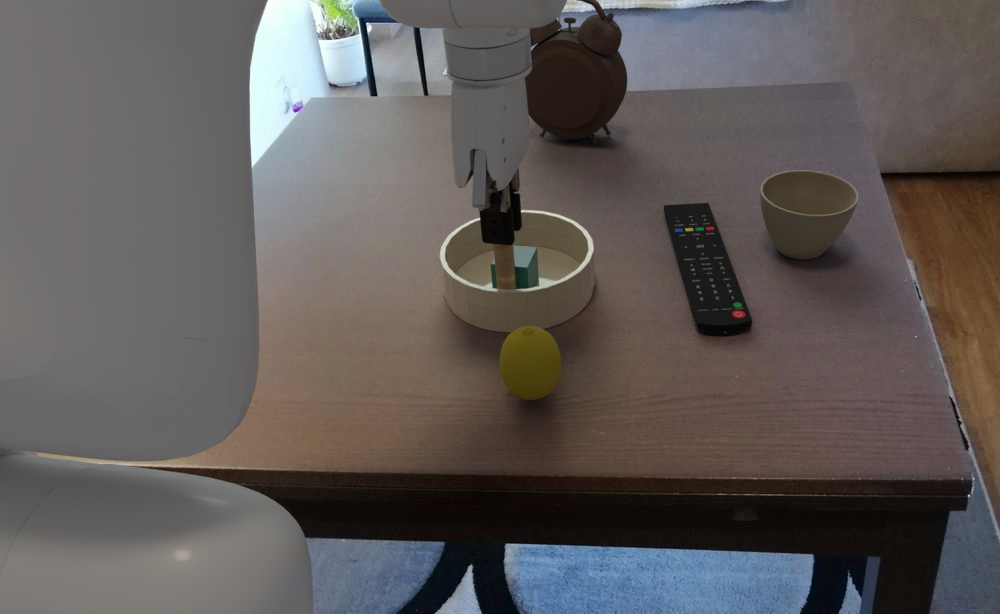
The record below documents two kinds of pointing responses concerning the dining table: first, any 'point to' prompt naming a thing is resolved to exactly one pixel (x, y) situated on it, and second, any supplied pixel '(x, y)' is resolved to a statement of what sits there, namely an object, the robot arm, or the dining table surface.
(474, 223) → the bowl
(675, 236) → the remote control
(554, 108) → the alarm clock
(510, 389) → the lemon
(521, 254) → the block
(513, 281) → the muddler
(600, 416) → the dining table surface
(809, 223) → the flower pot
